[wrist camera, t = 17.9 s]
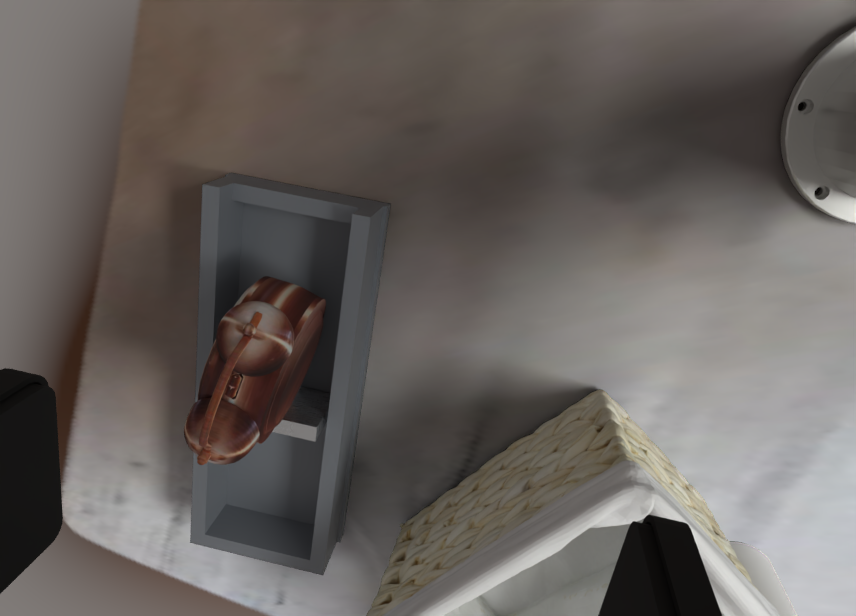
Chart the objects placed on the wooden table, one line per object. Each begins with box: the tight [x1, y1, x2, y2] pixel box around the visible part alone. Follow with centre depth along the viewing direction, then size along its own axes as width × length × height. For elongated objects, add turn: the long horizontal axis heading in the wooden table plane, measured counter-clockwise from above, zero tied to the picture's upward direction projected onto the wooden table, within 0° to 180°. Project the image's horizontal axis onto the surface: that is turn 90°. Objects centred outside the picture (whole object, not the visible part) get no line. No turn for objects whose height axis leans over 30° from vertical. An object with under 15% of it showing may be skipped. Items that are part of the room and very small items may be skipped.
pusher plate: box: [272, 387, 330, 441], centre depth 48 cm, size 8×1×5 cm, turn 80°
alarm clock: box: [184, 276, 326, 465], centre depth 41 cm, size 11×5×15 cm, turn 158°
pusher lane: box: [190, 173, 391, 575], centre depth 49 cm, size 12×30×5 cm, turn 170°
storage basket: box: [367, 390, 780, 616], centre depth 46 cm, size 24×16×15 cm
